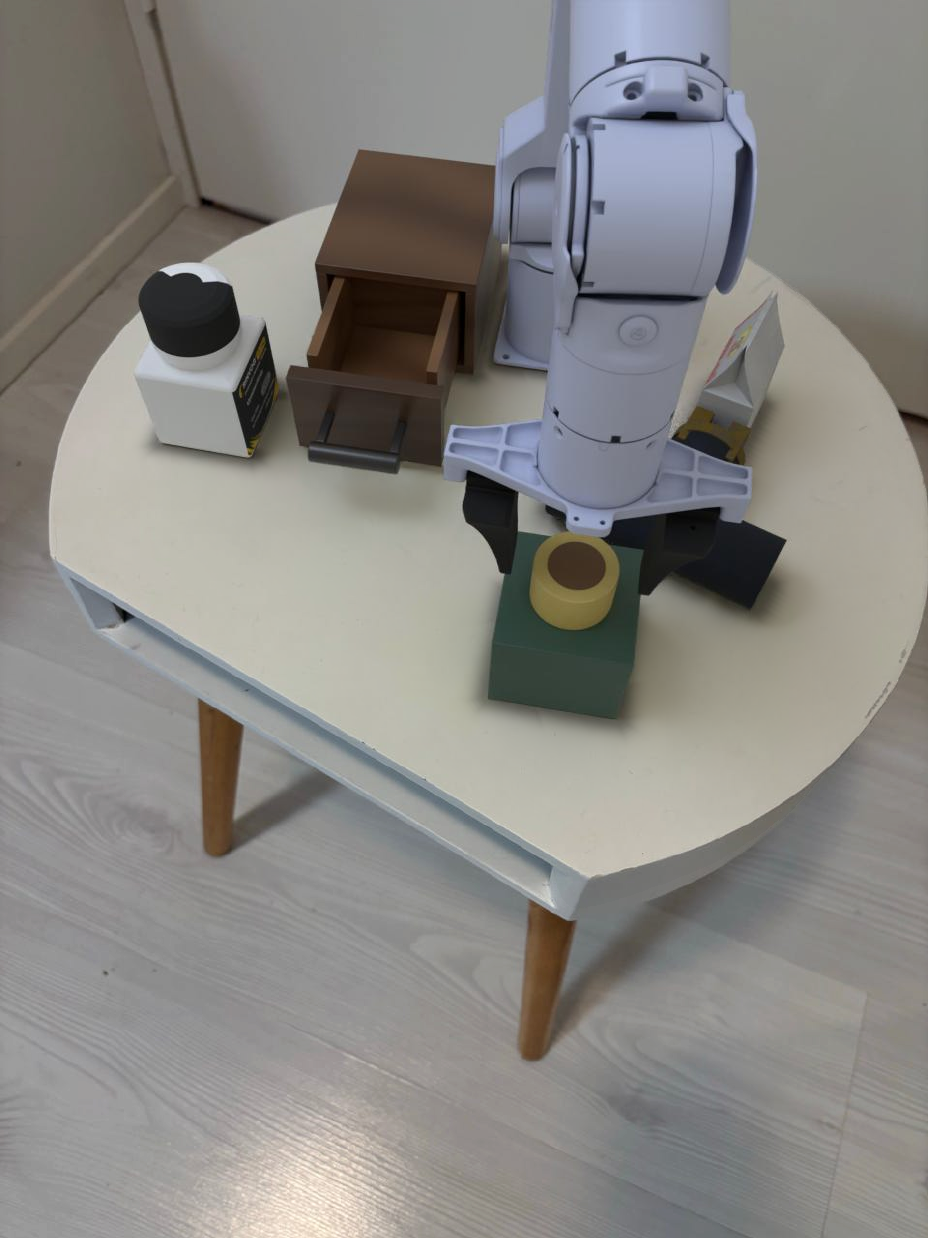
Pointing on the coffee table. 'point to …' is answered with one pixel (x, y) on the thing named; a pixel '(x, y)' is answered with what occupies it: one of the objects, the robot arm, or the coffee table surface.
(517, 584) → the block
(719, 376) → the white juice carton
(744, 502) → the robot arm
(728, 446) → the pipe connector
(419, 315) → the drawer
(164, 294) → the medicine bottle
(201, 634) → the coffee table surface
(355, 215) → the cabinet
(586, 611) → the tape
